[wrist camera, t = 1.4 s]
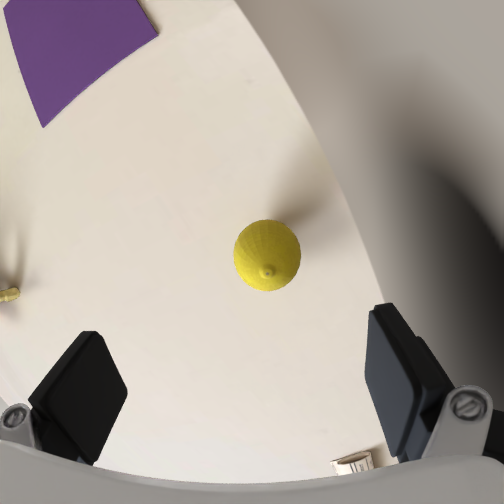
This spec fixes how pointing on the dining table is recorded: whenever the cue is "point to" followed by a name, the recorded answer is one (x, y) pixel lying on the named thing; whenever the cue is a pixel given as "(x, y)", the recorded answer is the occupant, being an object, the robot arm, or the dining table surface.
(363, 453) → the newspaper
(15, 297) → the ornament
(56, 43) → the cloth
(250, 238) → the lemon
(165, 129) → the dining table surface
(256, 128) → the dining table surface
